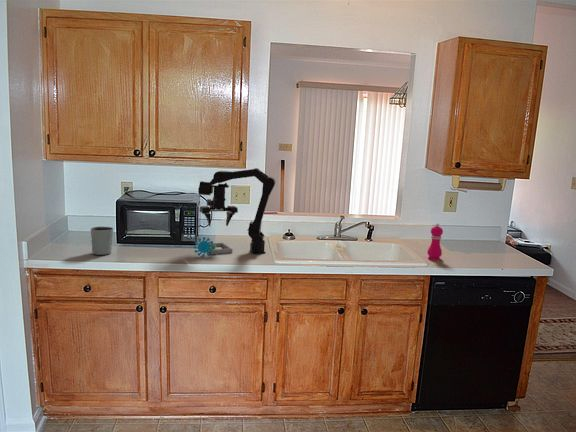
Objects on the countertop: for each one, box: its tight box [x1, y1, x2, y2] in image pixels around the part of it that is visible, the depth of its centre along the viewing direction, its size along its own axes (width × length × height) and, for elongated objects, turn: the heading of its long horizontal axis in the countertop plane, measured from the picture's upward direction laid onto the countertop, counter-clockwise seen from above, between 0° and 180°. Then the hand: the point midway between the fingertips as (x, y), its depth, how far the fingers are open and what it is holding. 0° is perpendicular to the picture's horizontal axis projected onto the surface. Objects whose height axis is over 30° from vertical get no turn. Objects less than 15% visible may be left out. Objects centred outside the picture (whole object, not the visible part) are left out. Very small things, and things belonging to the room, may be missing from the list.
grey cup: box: [90, 226, 114, 256], centre depth 232 cm, size 10×10×12 cm
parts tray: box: [208, 242, 233, 255], centre depth 249 cm, size 11×15×2 cm
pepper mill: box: [427, 223, 444, 261], centre depth 250 cm, size 7×7×20 cm
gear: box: [193, 236, 217, 257], centre depth 238 cm, size 11×6×10 cm
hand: (218, 226), depth 247 cm, fingers open, 9 cm apart
